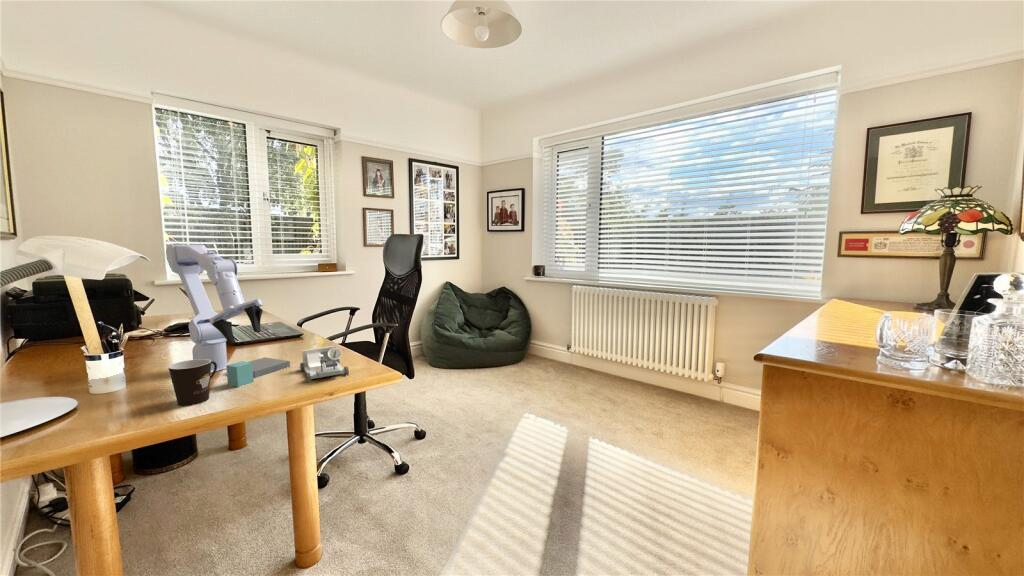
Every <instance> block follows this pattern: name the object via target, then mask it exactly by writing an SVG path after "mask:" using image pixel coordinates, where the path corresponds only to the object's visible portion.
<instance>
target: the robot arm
mask: <svg viewBox="0 0 1024 576" xmlns="http://www.w3.org/2000/svg"><path fill="white" fill-rule="evenodd" d="M165 256H166V260H167V264H168V266H169V268H170V269H171V272H172V273H174V274H177V275H178V276H179V278H180V281H181V283H182V286H183V288H184V291H185V292H186V295H187V298H188V300H189V303H190V305H191V308H192V310H193V313H194V317H192V319H191V320H190V321H189V323H188V329H189V336H190V340H191V341H192V342H193V343H194V344H195V345H194V346H193V347H192V351H191V352H192V353H191V354H192V360H195V359H209V360H211V361H214V362H216V364H217V370H216V372H219V371H222V370H227V368H226V365H230V364H231V363H228V354H227V342H228V344H236V339H235V336H234V333H233V323H232V321H228V320H230V319H232V318H235V317H237V316H240V315H242V314H244V313H245V314H246V315H247V317H248V319H249V321H250V324H251V327H252V329H253V332H255V333H261V320H262V319H261V318H262V314H263V309H262V308H261V307H263V306H264V304H263V301H262V299H259V298H256V299H253V300H250V301H245V298H244V296H243V292H242V289H241V286H240V284H239V281H238V280H239V279H238V278H237V275H238V266H237V265H238V264H237V262H235V260H234V259H232V258H231V259H230V258H229V259H225V258H223V257H222V256H219V255H218V254H216V252H215V251H213V250H212V251H210V250H209V251H208V249H207V247H206V245H204V244H203V243H199V244H172V243H170V244H169V243H168V245H167V246H166V249H165ZM204 271H205V272H206V276H207V277H208V279H209V280H210V281H211V284H212V285H213V286H215V289H216V292H217V295H218V298H219V302H220V304H221V308H222V311H220V312H216V311H215V310H214V308H213V306H212V304H211V301H210V299H209V297H208V294H207V292H206V289H205V287H204V284H203V282H202V280H201V277H200V274H201V273H202V272H204ZM213 371H214V364H212V363H211V373H210V374H212V373H213Z"/></svg>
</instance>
